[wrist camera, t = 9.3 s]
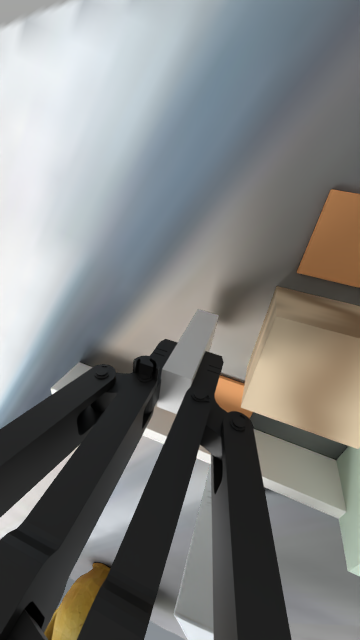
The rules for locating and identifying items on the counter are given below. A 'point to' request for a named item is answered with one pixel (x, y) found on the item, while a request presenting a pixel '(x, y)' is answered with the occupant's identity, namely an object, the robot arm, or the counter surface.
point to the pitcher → (76, 605)
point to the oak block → (308, 366)
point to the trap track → (288, 473)
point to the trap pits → (317, 267)
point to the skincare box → (198, 576)
